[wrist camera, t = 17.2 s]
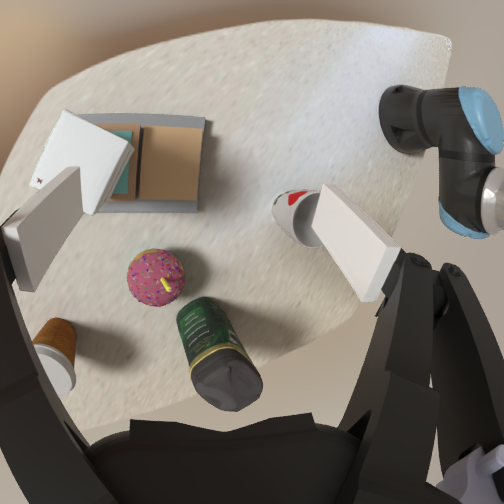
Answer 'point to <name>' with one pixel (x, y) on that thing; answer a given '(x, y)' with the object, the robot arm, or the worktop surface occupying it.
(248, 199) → the worktop surface
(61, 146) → the supplement box
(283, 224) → the cup
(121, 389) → the worktop surface
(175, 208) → the build base
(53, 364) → the disposable coffee cup
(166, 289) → the cupcake
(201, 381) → the coffee jar
